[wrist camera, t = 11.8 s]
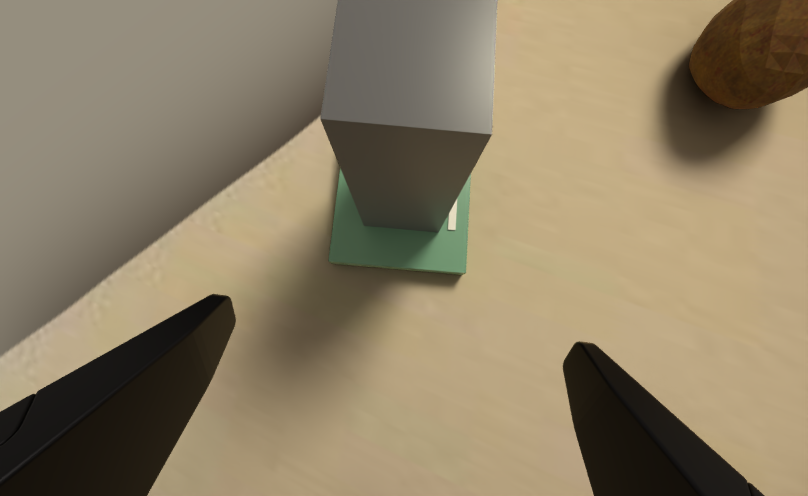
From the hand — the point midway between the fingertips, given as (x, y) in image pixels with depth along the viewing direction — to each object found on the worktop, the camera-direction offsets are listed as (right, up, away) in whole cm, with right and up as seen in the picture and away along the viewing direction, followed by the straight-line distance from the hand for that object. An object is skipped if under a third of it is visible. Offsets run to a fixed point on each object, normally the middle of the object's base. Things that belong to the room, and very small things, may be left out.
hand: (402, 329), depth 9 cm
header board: (0, +6, +15) cm, 16 cm away
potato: (+25, +16, +18) cm, 35 cm away
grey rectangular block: (0, +6, +14) cm, 15 cm away
